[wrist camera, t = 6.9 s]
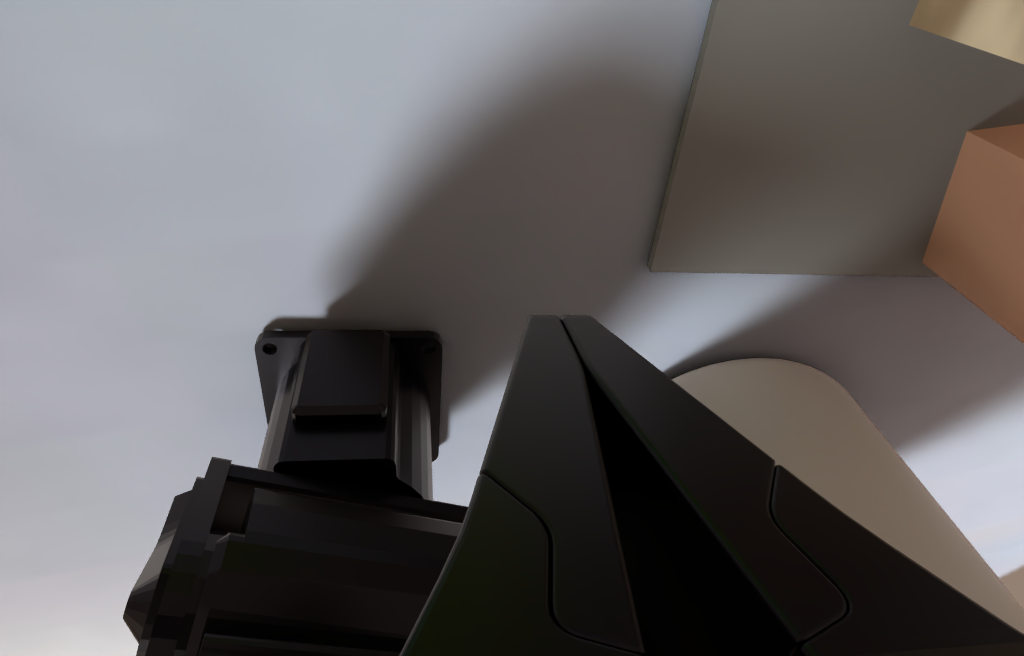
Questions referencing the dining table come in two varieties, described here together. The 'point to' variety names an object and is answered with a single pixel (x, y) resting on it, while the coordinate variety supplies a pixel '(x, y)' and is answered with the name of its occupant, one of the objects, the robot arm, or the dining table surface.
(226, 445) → the dining table surface
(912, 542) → the cylinder vase
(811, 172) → the mat
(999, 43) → the plain block
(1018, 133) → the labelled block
